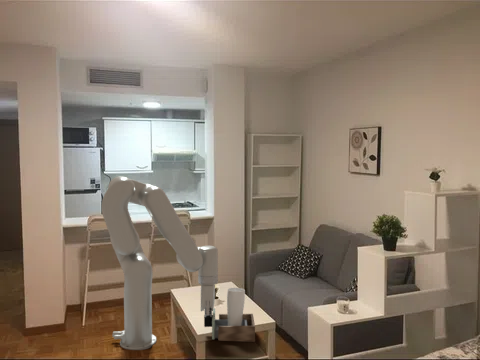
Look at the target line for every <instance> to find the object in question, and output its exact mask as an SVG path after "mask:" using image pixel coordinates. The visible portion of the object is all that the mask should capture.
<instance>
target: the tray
mask: <svg viewBox="0 0 480 360" xmlns="http://www.w3.org/2000/svg"><path fill="white" fill-rule="evenodd" d="M212 315H213V316H212V327H211V340H215V339H218V326H228V319H219V318H217V319H216V308H215V307H214V309H213V311H212ZM242 326H247V319H242Z"/></svg>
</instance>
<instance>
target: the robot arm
mask: <svg viewBox="0 0 480 360" xmlns="http://www.w3.org/2000/svg"><path fill="white" fill-rule="evenodd" d="M168 197H169V196H167V194H166V192H165V191H164V189H162V188H161V187H158V186H156V185H152V184H149V183H144V182H141V181H138V180H135V179H132V178H129V177H126V176H121V175H119V176H115V177H114V178H112V179H111V180H110V181H109V184H108V188H107V190H106V191H105V193H104V195H103V197H102V200H101V201H102V202H101V213H102V218H103V220H104V223H105V225H106V229H107V231H108V234H109V237H110V239H109V240H110V244H111V246H112V249H113V250H114V251H113V252H114V253H115V255H116V258H117V260H118V262H119V264H120V267H121V270H122V272H123V277H124V280H123V281H124V282H123V283H124V284H123V286H124V287H123V309H124V310H123V313H124V315H123V316H124V317H123V318H124V323H123V326H124V327H123V328H124V329H123V330H121V331H118V330H117V331H115V330H114V331H113V332H112V338H113V340H120V341H119V345H120V347H121V348H123V349H125V350H130V351H143V350H148V349H150V348H152V347H153V346H154V345H155V344H156V343H157V336H156V335H154V334H153V315H152V313H153V312H152V311H153V309H152V308H153V307H152V306H153V305H152V303H153V302H152V301H153V299H152V296H153V295H152V293H153V292H152V290H153V289H152V288H153V287H152V286H153V285H152V284H153V276H154V275H153V274H154V273H153V266H152V263H151V261H150V260H149V259H148V258H147V256H146V255H145V252H144V250H143V247H142V244H141V242H140V241H141V239H140V238H141V237H140V235H139V233H138V231H137V229H136V227H135V225H134V223H133V220H132V218H131V215H130V212H129V208H128V207H129V203H131V204H135V205H139V206H142V207H144V208H145V209H146V211H147V212H148V214H149V216H150V218H151V220H152V222H153V223H154V225H155V226H156V228H157V230H158V231H159V233H160V234H161V236H162V237H163V238H164V239H165V241H167V242H168V244H169V245H170V246H171V247H172V248H173V249H172V250H174V252H175V253H176V256H175V257H176V258H175V259H176V261H177V263H178V264H179V265H180V266H182V268H184V270H186V271H188V272H189V273H194V272H197V273H198V274H197V282H198V283H197V284H199V285H200V312H203V311H204V315H203V319H204V320H203V323H204V324H203V327H204V328H212V316H213V309H214V308H215V299H216V285H217V284H218V283H219V251H218V248H217V246H213V245H203V246H197V244H196V243H195V241H194V239H193V238H192V236H191V235H190V232H189V231H188V230H187V228H186V227H185V225H184V222H183V221H182V220H181V218H180V217H179V215H178V213H177V211H176V210H175V208H174V206H173V205H172V203H171V201H170V199H169V198H168Z"/></svg>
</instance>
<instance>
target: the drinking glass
mask: <svg viewBox="0 0 480 360" xmlns="http://www.w3.org/2000/svg"><path fill="white" fill-rule="evenodd" d="M245 300H246V290H245V289H244V288H242V287H230V288H227V294H226V307H227V308H226V310H227V313H226V314H227V315H228V326H242V317H243V314H244V308H245Z"/></svg>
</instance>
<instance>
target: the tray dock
mask: <svg viewBox="0 0 480 360" xmlns="http://www.w3.org/2000/svg"><path fill="white" fill-rule="evenodd" d="M218 319H228V315H227V313H219V314H218ZM242 319H247V326H218V338H217V339H218V341H219V342H220V341H227V342H254V343H255V342H256V325H255V319H254V313H243V317H242Z"/></svg>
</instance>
